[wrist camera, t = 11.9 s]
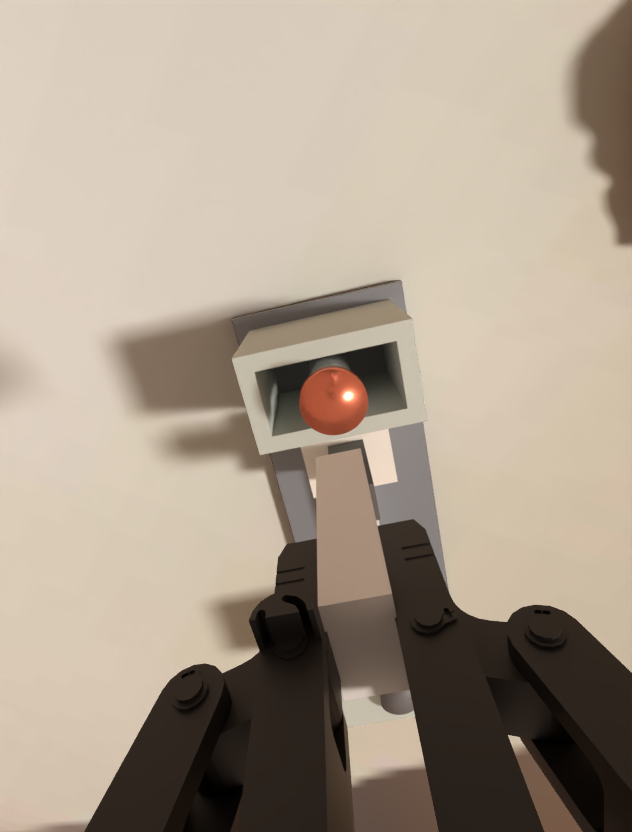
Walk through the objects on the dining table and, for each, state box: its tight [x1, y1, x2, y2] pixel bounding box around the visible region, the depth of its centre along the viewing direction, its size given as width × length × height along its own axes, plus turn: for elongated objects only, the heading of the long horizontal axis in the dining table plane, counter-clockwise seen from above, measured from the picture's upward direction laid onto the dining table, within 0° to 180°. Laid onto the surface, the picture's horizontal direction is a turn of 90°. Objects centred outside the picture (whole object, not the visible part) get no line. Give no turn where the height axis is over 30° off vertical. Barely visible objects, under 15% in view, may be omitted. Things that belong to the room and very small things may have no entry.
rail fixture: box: [232, 280, 448, 728], centre depth 35 cm, size 32×12×10 cm, turn 12°
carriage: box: [301, 429, 398, 520], centre depth 31 cm, size 5×6×10 cm
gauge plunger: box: [299, 352, 368, 435], centre depth 29 cm, size 4×4×9 cm
